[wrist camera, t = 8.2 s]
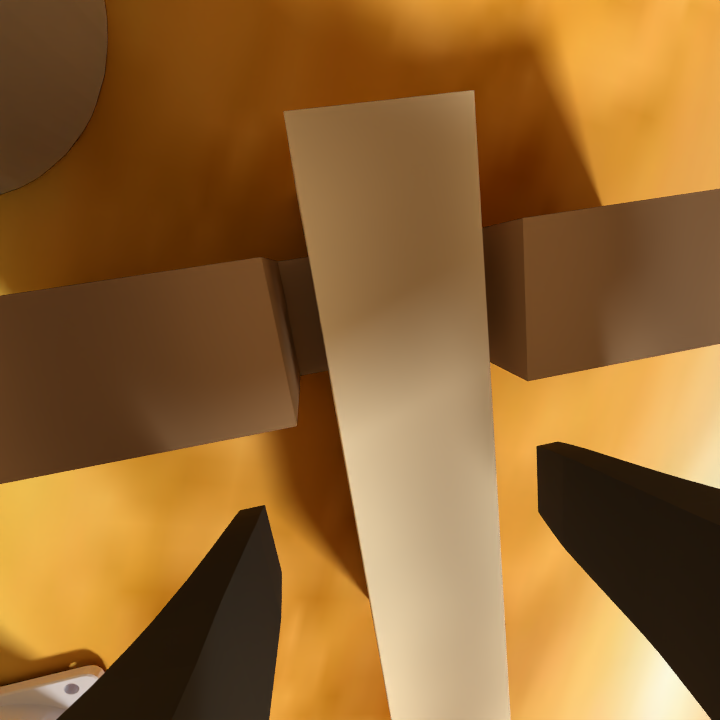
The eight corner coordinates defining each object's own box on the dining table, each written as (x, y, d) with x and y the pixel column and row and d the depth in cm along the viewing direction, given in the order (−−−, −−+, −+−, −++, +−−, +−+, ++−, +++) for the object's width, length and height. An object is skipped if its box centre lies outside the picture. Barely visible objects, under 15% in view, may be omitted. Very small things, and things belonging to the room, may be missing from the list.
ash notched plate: (369, 600, 15) (405, 799, 10) (296, 193, 11) (283, 111, 5) (437, 583, 16) (513, 767, 10) (391, 180, 11) (473, 90, 6)
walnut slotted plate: (94, 390, 12) (-113, 506, 6) (60, 297, 11) (-214, 327, 5) (603, 300, 13) (825, 323, 8) (606, 214, 13) (854, 168, 7)
